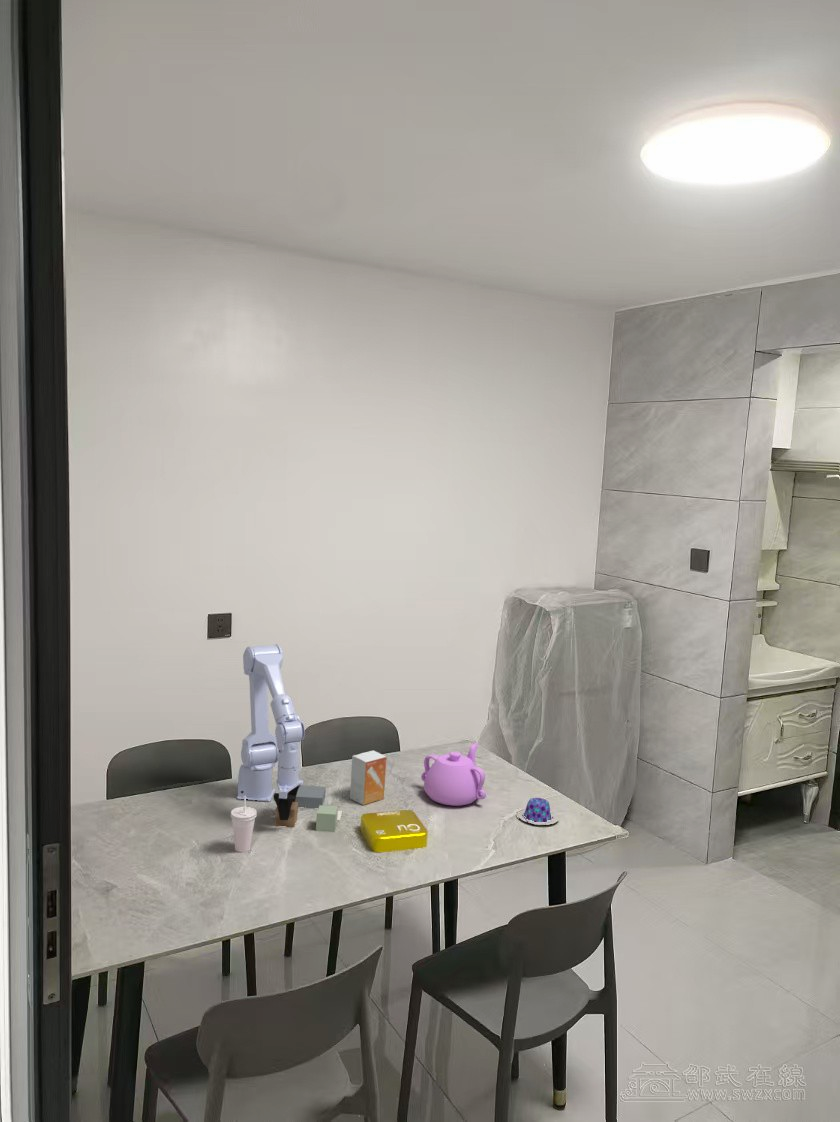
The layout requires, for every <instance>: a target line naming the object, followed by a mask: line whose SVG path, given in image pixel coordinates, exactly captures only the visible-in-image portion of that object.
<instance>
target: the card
mask: <svg viewBox="0 0 840 1122" xmlns="http://www.w3.org/2000/svg"><path fill="white" fill-rule="evenodd" d="M342 815H343V810H338V816H337V822H340V821H341V818H342Z"/></svg>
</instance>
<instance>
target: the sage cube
mask: <svg viewBox="0 0 840 1122" xmlns="http://www.w3.org/2000/svg"><path fill="white" fill-rule="evenodd" d="M338 811H339V806H336V805H324V804H323V805H319V808H318V809H317V811H316V817H315V818H316V821H315V824H316V825H315V832H325V831H328V832H329V833H335V832H336V828H337V825H338V821H337V816H338Z"/></svg>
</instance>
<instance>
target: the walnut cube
mask: <svg viewBox="0 0 840 1122" xmlns="http://www.w3.org/2000/svg"><path fill="white" fill-rule="evenodd" d="M298 809H299V808H298V802H292V805H291V810H290V815H289V818H288V820H280V817H279V812H278V807H277V806H276V808H275V821H274V822H275V823H274V824H275V827H279V826H286V827H285V828H293V827H294V828H295V827H296V824H297V820H298V816H299V815H298V811H299V810H298ZM295 823H296V824H295Z"/></svg>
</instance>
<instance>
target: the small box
mask: <svg viewBox="0 0 840 1122" xmlns="http://www.w3.org/2000/svg"><path fill="white" fill-rule="evenodd" d="M386 769H387V756H386V755H384V754H381V752H378V751H376V750H374V749H373V750H369V751H366V752H361V753H359V754H353V755H352V756H351V774H350V788H349V789H350V792H349V798H350V799H351V800H353V801H355V802H356V803H358V804H360V805H362V806H365V805H368V804H370V803H374V802H377V801H381V800H384V799H385V786H386V785H385V784H386V773H387V772H386Z"/></svg>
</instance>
